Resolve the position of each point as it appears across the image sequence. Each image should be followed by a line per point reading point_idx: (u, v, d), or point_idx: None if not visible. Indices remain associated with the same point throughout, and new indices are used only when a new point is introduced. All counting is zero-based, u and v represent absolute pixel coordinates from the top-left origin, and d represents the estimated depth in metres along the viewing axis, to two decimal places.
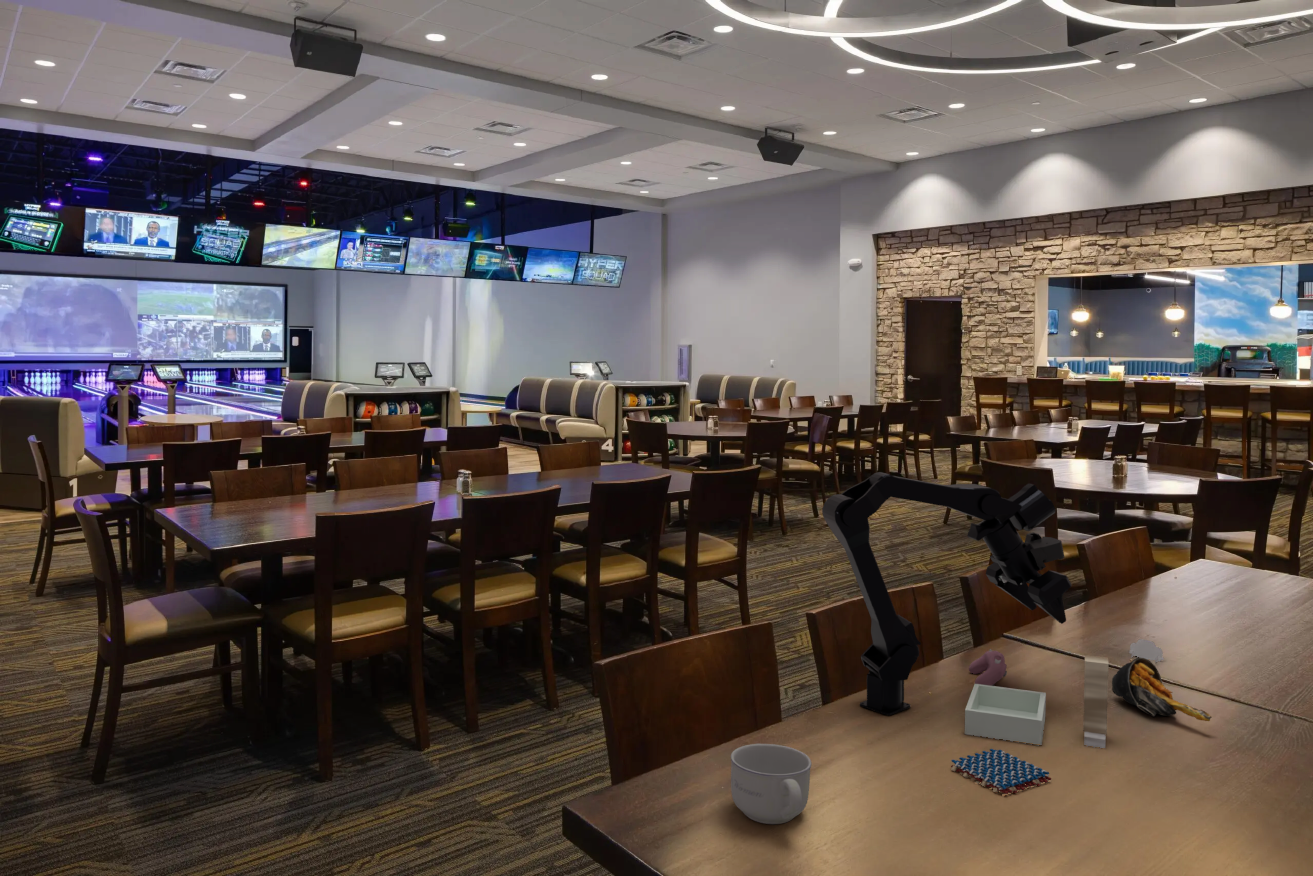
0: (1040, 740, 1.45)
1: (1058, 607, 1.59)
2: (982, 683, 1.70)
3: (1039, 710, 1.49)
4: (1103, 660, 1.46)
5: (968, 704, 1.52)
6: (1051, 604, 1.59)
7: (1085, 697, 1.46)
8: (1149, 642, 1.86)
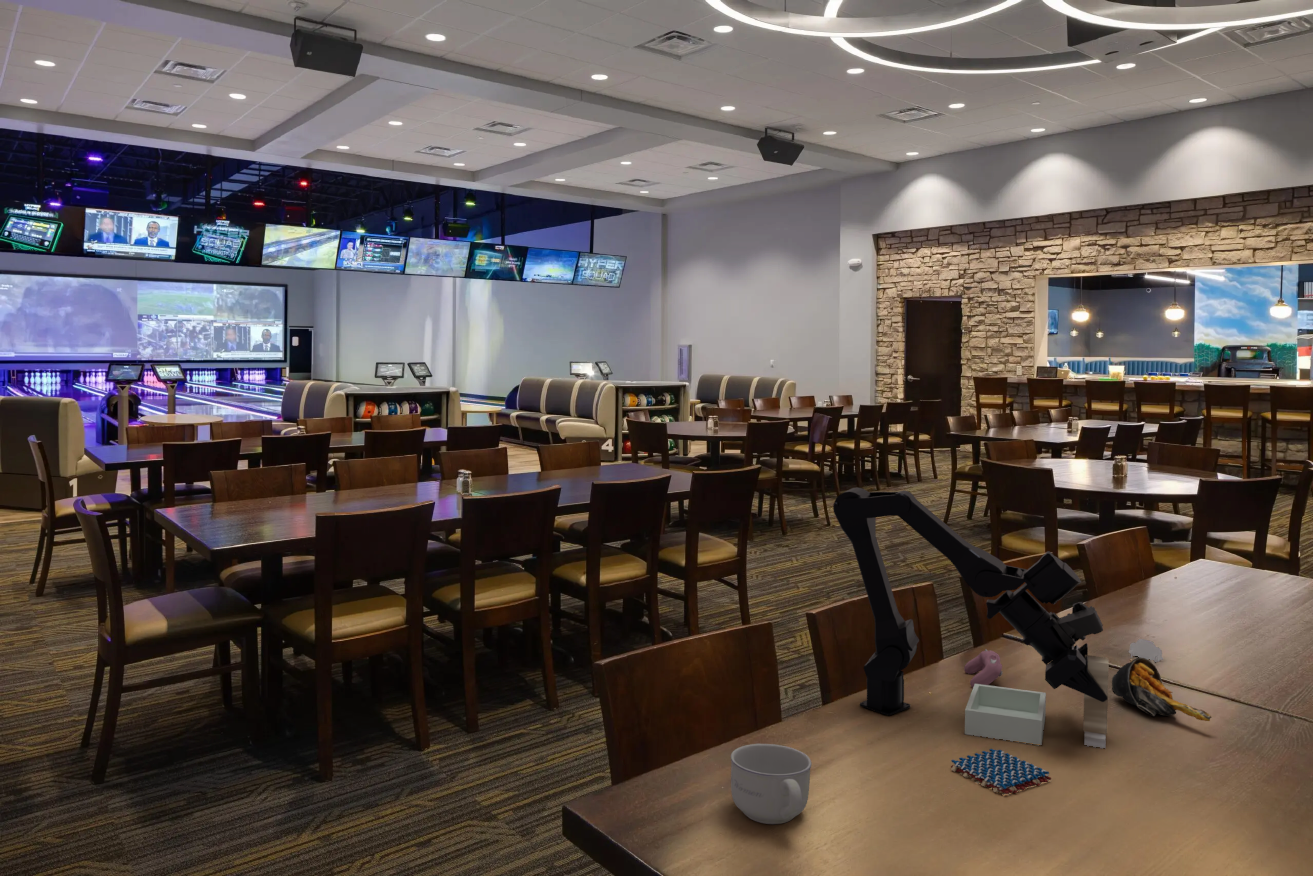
0: (1040, 740, 1.45)
1: (1089, 684, 1.44)
2: (978, 683, 1.70)
3: (1039, 710, 1.49)
4: (1103, 660, 1.46)
5: (968, 704, 1.52)
6: (1079, 681, 1.45)
7: (1085, 697, 1.46)
8: (1148, 642, 1.86)
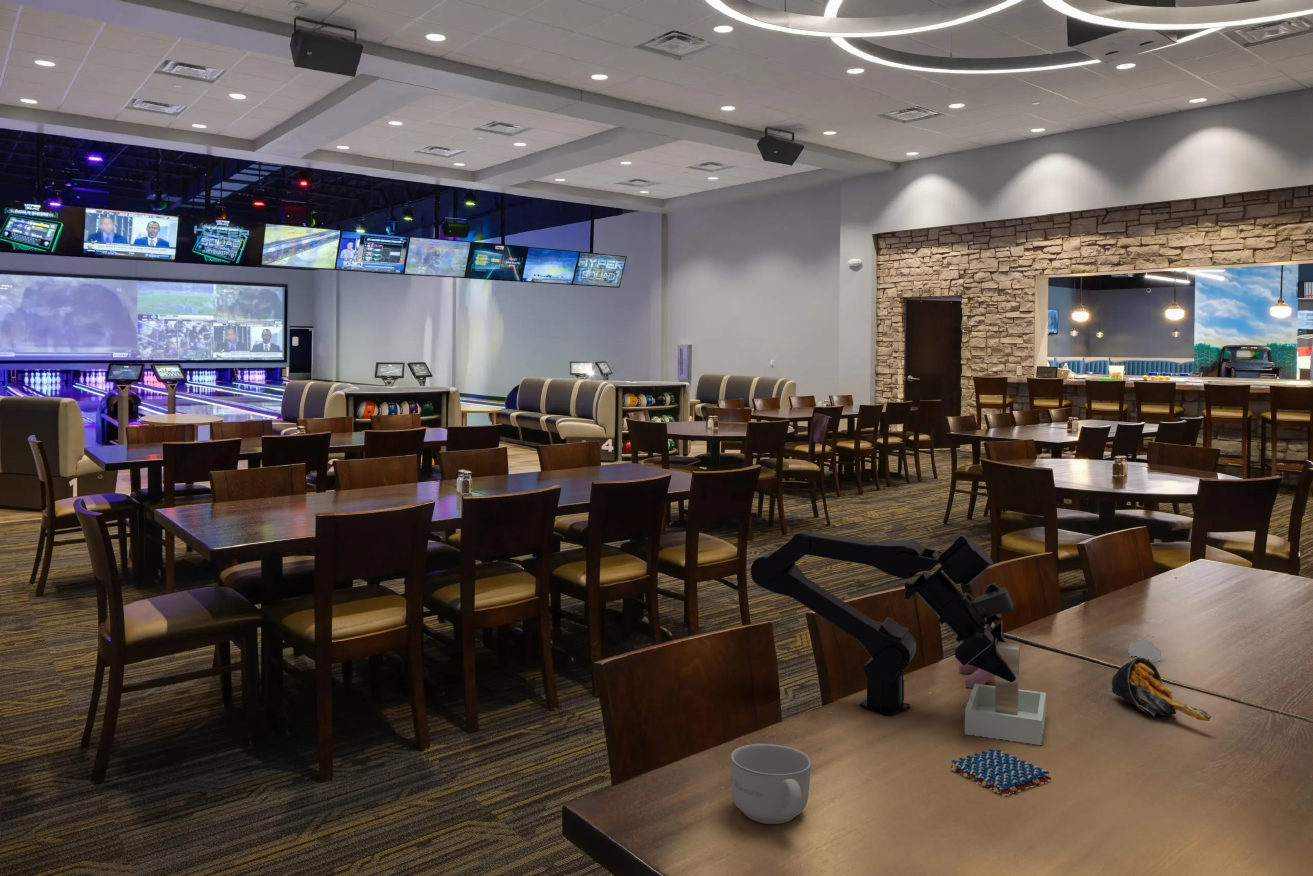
0: (1040, 740, 1.45)
1: (998, 665, 1.48)
2: (973, 683, 1.70)
3: (1039, 710, 1.49)
4: (1014, 646, 1.51)
5: (968, 704, 1.52)
6: (988, 661, 1.49)
7: (996, 682, 1.52)
8: (1148, 642, 1.86)
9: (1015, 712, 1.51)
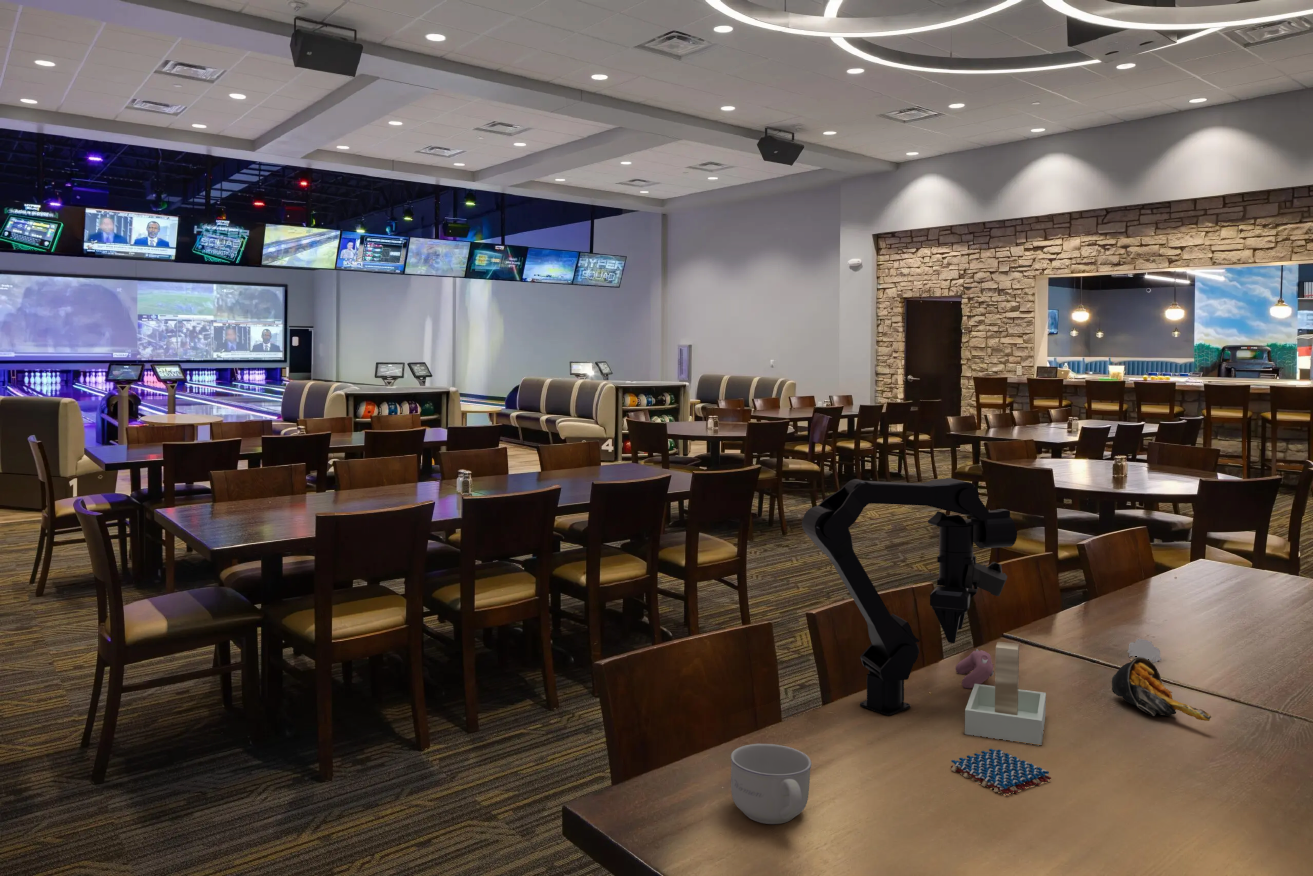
0: (1040, 740, 1.45)
1: (951, 624, 1.58)
2: (969, 683, 1.70)
3: (1039, 710, 1.49)
4: (1013, 646, 1.52)
5: (968, 704, 1.52)
6: (947, 617, 1.58)
7: (996, 682, 1.52)
8: (1147, 642, 1.86)
9: (1015, 712, 1.51)
